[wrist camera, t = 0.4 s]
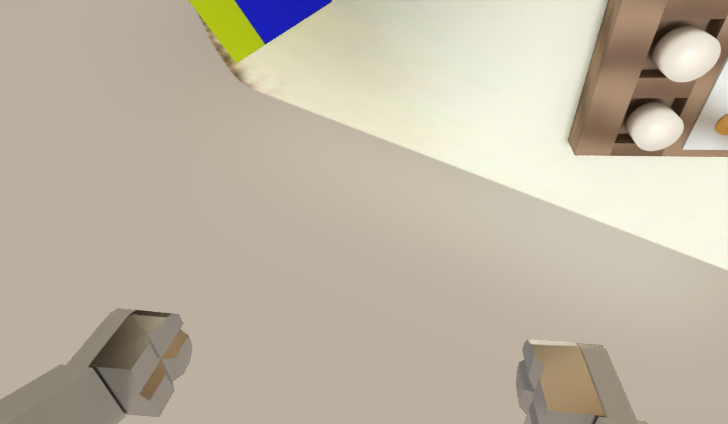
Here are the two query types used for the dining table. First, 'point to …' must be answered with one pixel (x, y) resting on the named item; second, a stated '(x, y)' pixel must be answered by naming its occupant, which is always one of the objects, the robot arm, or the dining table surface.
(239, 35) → the puzzle toy
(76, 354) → the robot arm
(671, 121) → the button
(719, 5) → the console
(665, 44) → the middle button
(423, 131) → the dining table surface
